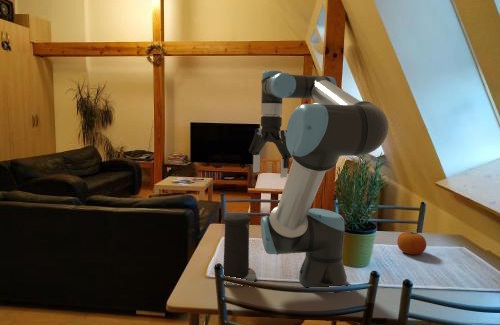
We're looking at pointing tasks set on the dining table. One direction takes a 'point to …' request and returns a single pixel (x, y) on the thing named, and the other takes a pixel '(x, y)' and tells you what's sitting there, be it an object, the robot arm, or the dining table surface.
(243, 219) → the container
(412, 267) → the dining table surface
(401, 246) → the fruit
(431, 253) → the dining table surface
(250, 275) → the flange plate
